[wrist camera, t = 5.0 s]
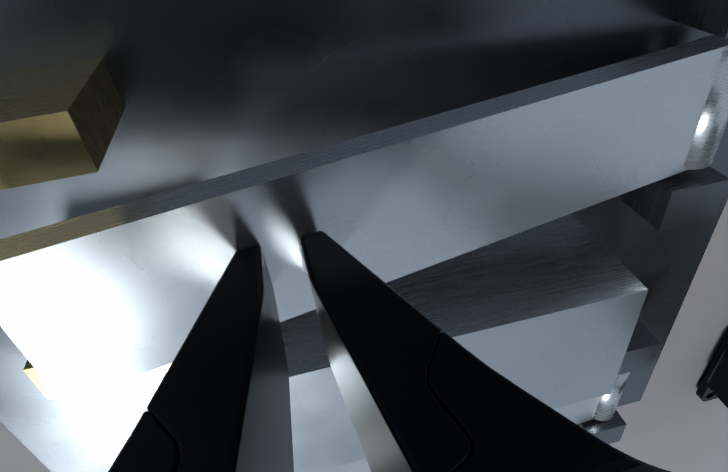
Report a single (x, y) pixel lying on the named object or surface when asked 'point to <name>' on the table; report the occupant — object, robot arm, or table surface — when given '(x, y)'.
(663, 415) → the table surface
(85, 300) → the bar
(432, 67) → the cooler plate
